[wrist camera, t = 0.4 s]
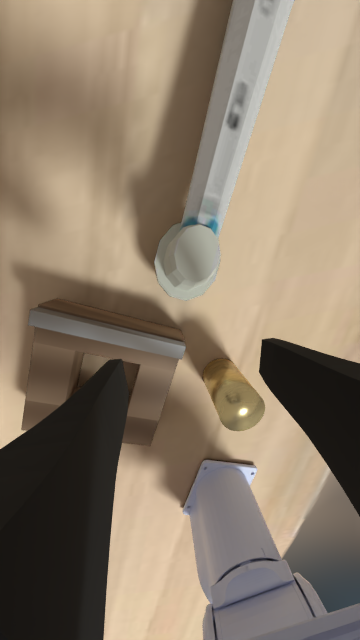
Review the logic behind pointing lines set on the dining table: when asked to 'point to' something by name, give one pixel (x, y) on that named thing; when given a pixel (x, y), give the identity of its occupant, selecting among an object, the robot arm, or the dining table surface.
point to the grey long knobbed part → (222, 145)
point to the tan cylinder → (233, 395)
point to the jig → (107, 341)
